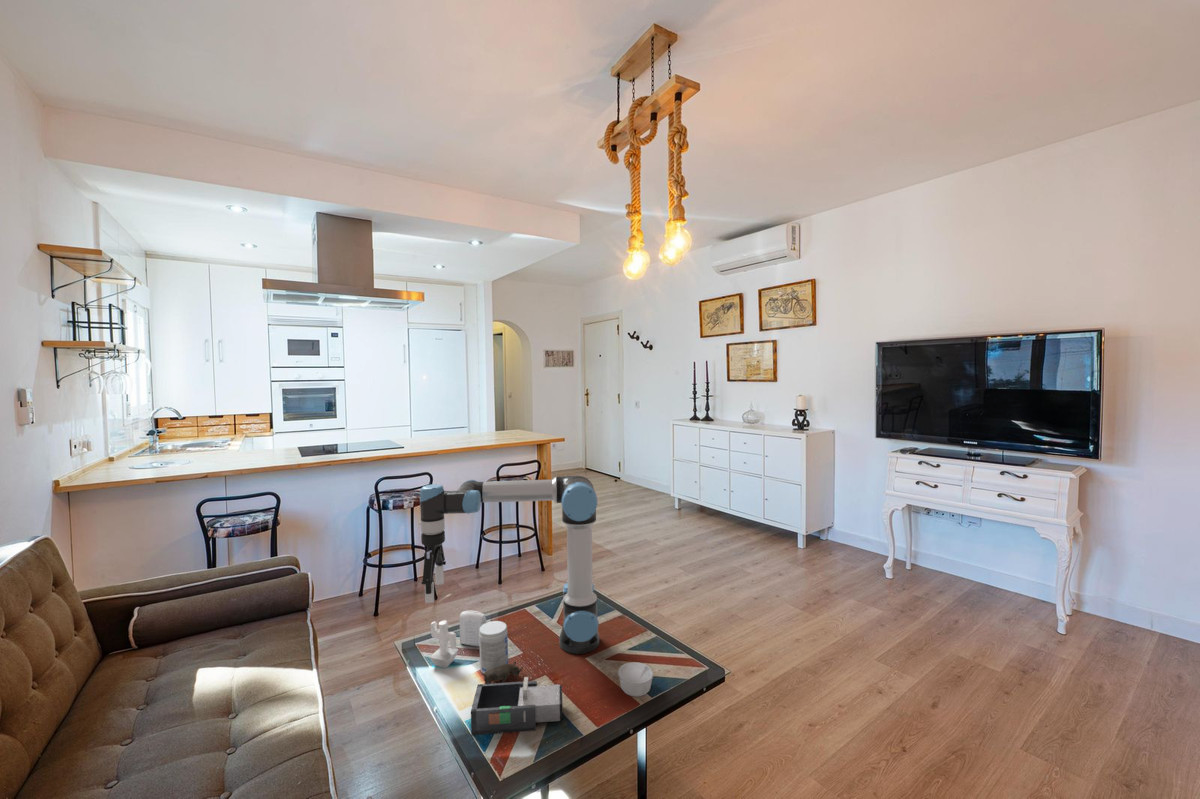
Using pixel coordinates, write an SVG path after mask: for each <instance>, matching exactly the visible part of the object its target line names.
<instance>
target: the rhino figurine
mask: <svg viewBox="0 0 1200 799" xmlns="http://www.w3.org/2000/svg"><path fill="white" fill-rule="evenodd" d="M523 669H524V667H523V666H522V667H521V668H520V667H519V666H518V665H517V662H516V660H515V661H514V662H513V664H512V663H511V664H510V663H508V664H505V665H502V666H500V667H497V668H490V669H488V670H486V671H485V673H484V674H483V678H484V683H483V684H492V681H494V682H499V681H501V683H506V681H507V678H508V677H509V676H510V675H512V676H516V677H517V676H519V675H520V673H521V671H522V670H523Z"/></svg>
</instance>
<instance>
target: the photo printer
mask: <svg viewBox="0 0 1200 799" xmlns="http://www.w3.org/2000/svg"><path fill="white" fill-rule="evenodd" d="M485 623H487V616H486V614H484V613H483V612H481V611H476V610H463V611H462V612H461V613H460V614H459V644H463V645H467V646H473V647H480V645H479V630H480V627H481V626H482V625H483V624H485Z"/></svg>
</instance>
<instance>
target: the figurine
mask: <svg viewBox="0 0 1200 799" xmlns="http://www.w3.org/2000/svg"><path fill="white" fill-rule="evenodd" d="M437 626H438V627H437ZM430 633H431V634H430V635H431V637H432V639H433V638H434V639H438V640H439V647H438V649H436V651H435V652H433V653H432V654H431V655H430V656H429V657H428V658H429V659H430V661H431V662H432V664H433V665H434V666H435V667H440V668H444V669H446V668H448V667H449V666H451V664H452V663H453V662H454V660H455V658H456V656H457V654H458V652H459V649H460V648H457V634H456V633H455V632H453V631H449V625H448V620H446V619H444V620H443V619H442V620H441V621H439V623H437V621H432V622H431V623H430ZM449 642H450V647H449Z"/></svg>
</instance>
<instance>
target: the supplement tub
mask: <svg viewBox="0 0 1200 799" xmlns="http://www.w3.org/2000/svg"><path fill="white" fill-rule="evenodd" d="M508 640H509V639H508V625H507V624H506V623H505V622H504V621H500V620H492V621H488V622H486V623H485V624H483V625H482V626H481V627H480V630H479V645H480V646H479V661H480V662H479V665H480V666H479V668H480V672H481V673H482V674H483V675H484V673H485V671H486V670H488V669H490V668H497V667H500V666H502V665H505V664H509V641H508Z"/></svg>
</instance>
